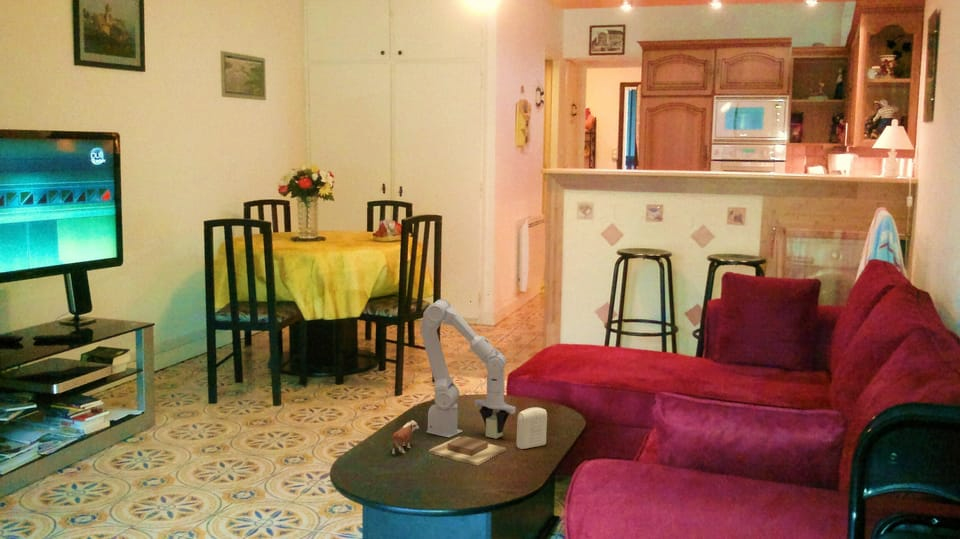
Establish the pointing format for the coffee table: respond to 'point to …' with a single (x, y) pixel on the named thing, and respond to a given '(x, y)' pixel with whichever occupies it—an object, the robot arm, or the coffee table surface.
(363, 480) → the coffee table surface
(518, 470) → the coffee table surface
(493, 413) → the dice cube
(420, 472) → the coffee table surface
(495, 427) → the sage block
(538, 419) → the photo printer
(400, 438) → the bull figurine
